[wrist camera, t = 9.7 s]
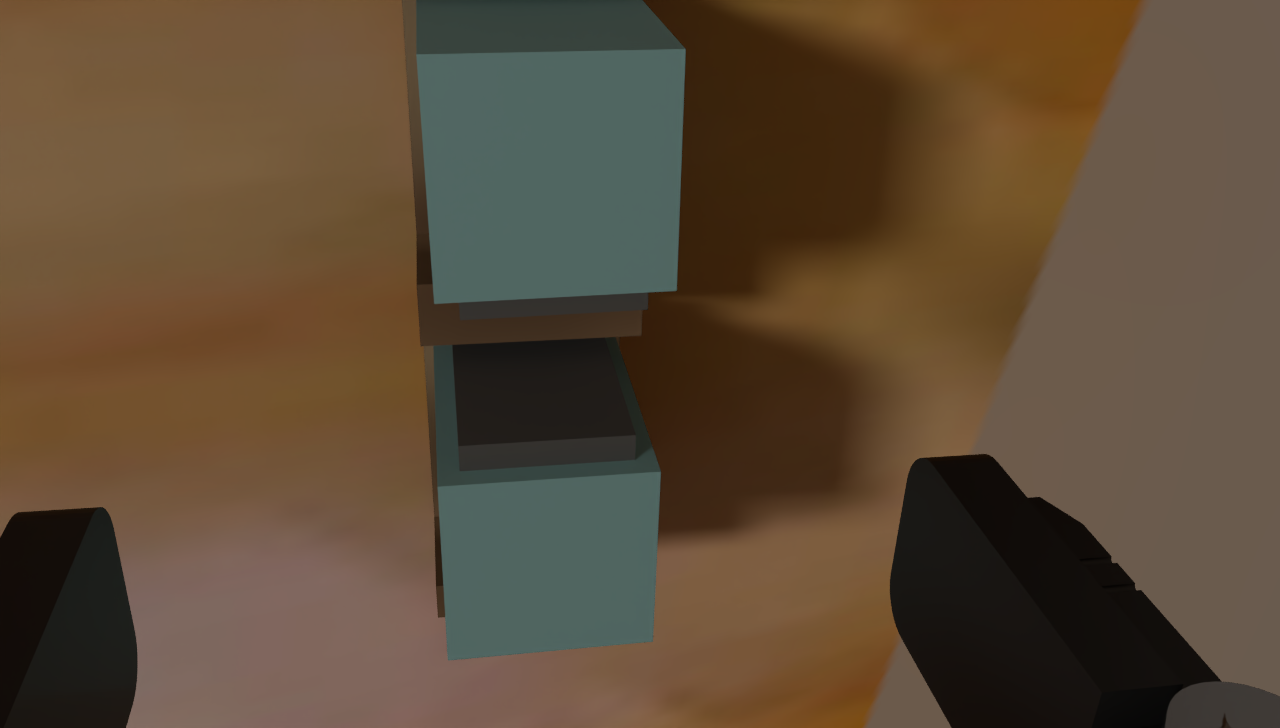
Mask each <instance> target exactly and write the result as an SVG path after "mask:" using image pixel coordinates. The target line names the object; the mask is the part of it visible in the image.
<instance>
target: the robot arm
mask: <svg viewBox="0 0 1280 728" xmlns="http://www.w3.org/2000/svg"><path fill="white" fill-rule="evenodd" d="M890 598H891V606H892V612H893V617H894V620H895V624H896V627H897V629H898V632H899V634H900V636H901V638H902V640H903V642H904V644H905V645H906V647H907V649H908V651H909V653H910V654H911V656H912V658H913V660H914V661H915V663H916V665H917V667H918V669H919V670H920V672H921V674H922V676H923V677H924V679H925V681H926V683H927V685H928V686H929V688H930V690H931V692H932V693H933V695H934V697H935V699H936V701H937V702H938V704H939V706H940V708H941V710H942V711H943V713H944V715H945V717H946V718H947V720H948V722H949V724H950V726H951V727H952V728H1280V696H1278V695H1276V694H1273V693H1270V692H1267V691H1265V690H1262V689H1259V688H1255V687H1251V686H1248V685H1244V684H1238V683H1232V682H1222V681H1221V680H1220V679H1219V678H1218V677H1217V676H1216V675H1215V673H1214V672H1213V671H1212V670H1211V669H1210V668H1209V667H1208V665H1207V664H1206V663H1205V662H1204V661H1203V660H1202V659H1201V658H1200V656H1199V655H1198V654H1197V653H1196V652H1195V651H1194V650H1193V648H1192V647H1191V646H1190V645H1189V644H1188V643H1187V642H1186V641H1185V639H1184V638H1183V637H1182V636H1181V635H1180V634H1179V633H1178V631H1177V630H1176V629H1175V628H1174V627H1173V626H1172V625H1171V624H1170V622H1169V621H1168V620H1167V619H1166V618H1165V617H1164V616H1163V614H1162V613H1161V612H1160V611H1159V610H1158V609H1157V608H1156V607H1155V605H1154V604H1153V603H1152V602H1151V601H1150V600H1149V599H1148V597H1147V596H1146V595H1145V594H1144V593H1143V592H1142V591H1141V590H1138V591H1136V589H1135V583H1134V582H1133V580H1132V579H1131V578H1130V577H1129V576H1128V575H1127V574H1126V573H1125V571H1124V570H1123V569H1122V568H1121V567H1120V566H1119V565H1118V563H1112V561H1111V555H1110V554H1109V553H1108V552H1107V551H1106V550H1105V549H1104V548H1103V547H1102V545H1101V544H1100V543H1099V542H1098V541H1097V540H1096V538H1095V537H1094V536H1093V535H1092V534H1091V533H1090V532H1089V531H1088V530H1087V528H1086V527H1085V526H1084V525H1083V524H1082V523H1080V522H1079V521H1077V520H1075V519H1074V518H1072V517H1071V516H1069V515H1068V514H1066V513H1064V512H1063V511H1061V510H1059V509H1058V508H1056V507H1055V506H1053V505H1052V504H1050V503H1048V502H1047V501H1045V500H1043V499H1042V498H1040V497H1034V498H1027V497H1026V496H1025V494H1024V493H1023V492H1022V491H1021V490H1020V488H1019V487H1018V486H1017V485H1016V484H1015V482H1014V481H1013V480H1012V479H1011V478H1010V476H1009V475H1008V474H1007V473H1006V472H1005V471H1004V469H1003V468H1002V467H1001V466H1000V465H999V463H998V462H997V461H996V460H995V459H994V458H993V457H991V456H990V455H987V454H978V455H962V456H946V457H930V458H919V459H917V460H916V461H915V462H914V463H913V465H912V466H911V468H910V471H909V474H908V478H907V483H906V489H905V495H904V501H903V507H902V512H901V518H900V524H899V530H898V535H897V541H896V547H895V553H894V559H893V564H892V570H891V577H890ZM136 682H137V644H136V636H135V630H134V625H133V620H132V615H131V611H130V606H129V601H128V596H127V591H126V586H125V581H124V576H123V571H122V566H121V562H120V557H119V552H118V547H117V542H116V537H115V532H114V528H113V524H112V521H111V518H110V516H109V514H108V512H107V511H106V509H104V508H103V507H97V508H81V509H65V510H49V511H33V512H18V513H16V514H15V515H13V516H12V518H11V519H10V521H9V522H8V524H7V526H6V528H5V530H4V532H3V534H2V536H1V537H0V728H126V725H127V722H128V719H129V715H130V712H131V708H132V705H133V701H134V696H135V690H136Z"/></svg>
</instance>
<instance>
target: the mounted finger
mask: <svg viewBox="0 0 1280 728" xmlns="http://www.w3.org/2000/svg"><path fill="white" fill-rule="evenodd" d="M433 349H434V384H435V418H436V452H437V486H438V503H439V520H440V536H441V553H442V570H443V586H444V603H445V619H446V636H447V653H448V660H457V659H468V658H479V657H490V656H501V655H512V654H523V653H533V652H544V651H555V650H566V649H577V648H588V647H599V646H609V645H620V644H631V643H642V642H653V626H654V606H655V585H656V564H657V543H658V522H659V501H660V480H661V470H660V467H659V464H658V461H657V459H656V456H655V453H654V450H653V447H652V444H651V441H650V438H649V435H648V432H647V429H646V426H645V423H644V420H643V417H642V414H641V411H640V408H639V405H638V402H637V399H636V396H635V393H634V390H633V387H632V384H631V381H630V378H629V375H628V372H627V370H626V367H625V364H624V361H623V358H622V355H621V352H620V349H619V346H618V343H617V340H616V337H605V338H584V339H563V340H542V341H522V342H501V343H480V344H459V345H438V346H433Z"/></svg>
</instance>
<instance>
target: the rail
mask: <svg viewBox="0 0 1280 728" xmlns="http://www.w3.org/2000/svg"><path fill="white" fill-rule="evenodd" d="M402 7H403V23H404V39H405V55H406V71H407V87H408V103H409V119H410V135H411V151H412V166H413V182H414V198H415V214H416V230H417V296H418V311H419V327H420V342H421V346H424V358H425V374H426V390H427V406H428V422H429V438H430V454H431V470H432V486H433V502H434V520H435V561H436V592H437V608H438V617H445V603H444V586H443V570H442V553H441V536H440V520H439V503H438V486H437V452H436V418H435V384H434V349H433V346H438V345H459V344H480V343H501V342H522V341H542V340H563V339H584V338H605V337H616V340H617V343H618V346H619V349H620V337H626V336H641V335H642V310H635V311H617V312H599V313H581V314H564V315H546V316H528V317H510V318H492V319H475V320H460V313H459V303H442V304H434V294H433V280H432V266H431V252H430V238H429V224H428V210H427V196H426V182H425V168H424V154H423V140H422V126H421V112H420V98H419V84H418V70H417V56H416V0H402Z"/></svg>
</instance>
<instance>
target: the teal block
mask: <svg viewBox="0 0 1280 728" xmlns="http://www.w3.org/2000/svg"><path fill="white" fill-rule="evenodd" d="M685 55H686V49H685V48H684V47H683V45H682V44H681V43H680V42H679V41H678V40H677V39H676V37H675V36H674V35H673V34H672V33H671V32H670V31H669V30H668V28H667V27H666V26H665V25H664V24H663V23H662V22H661V21H660V19H659V18H658V17H657V16H656V15H655V14H654V13H653V12H652V10H651V9H650V8H649V7H648V6H647V5H646V4H645V3H644V1H643V0H416V56H417V70H418V84H419V98H420V112H421V126H422V140H423V154H424V168H425V182H426V196H427V210H428V224H429V238H430V252H431V266H432V280H433V294H434V304H442V303H459V313H460V320H475V319H492V318H510V317H528V316H546V315H564V314H581V313H599V312H617V311H635V310H648V292H665V291H677V271H678V244H679V217H680V190H681V163H682V136H683V109H684V82H685Z"/></svg>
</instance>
